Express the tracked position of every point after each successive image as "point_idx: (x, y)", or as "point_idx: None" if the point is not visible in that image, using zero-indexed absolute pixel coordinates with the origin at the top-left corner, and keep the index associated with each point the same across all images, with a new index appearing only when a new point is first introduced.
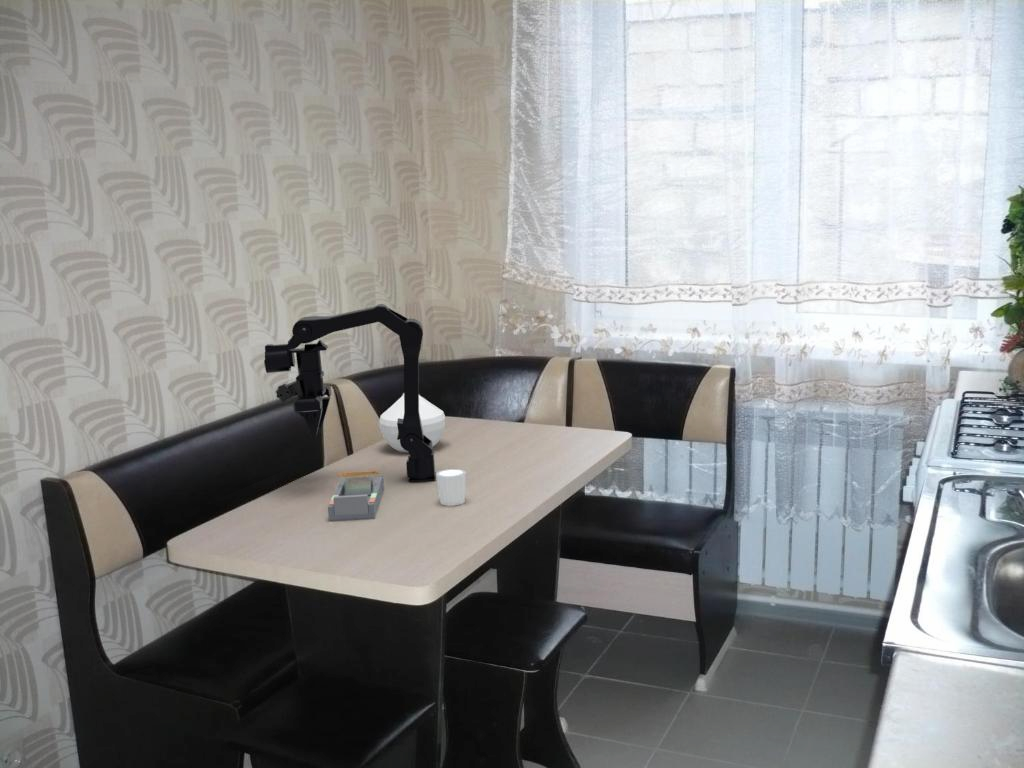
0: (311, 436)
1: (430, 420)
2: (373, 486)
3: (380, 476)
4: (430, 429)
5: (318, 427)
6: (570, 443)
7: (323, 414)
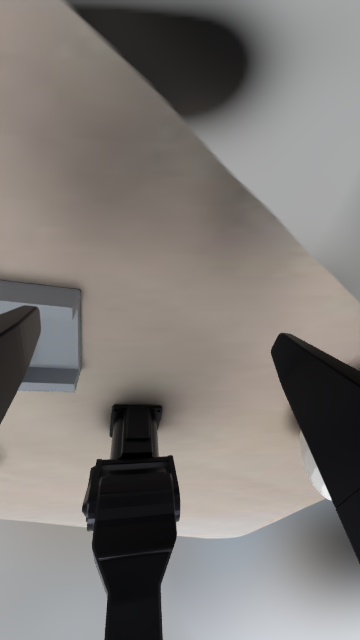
0: (26, 305)
1: (318, 489)
2: (58, 360)
3: (69, 388)
4: (305, 469)
5: (278, 337)
6: (228, 517)
7: (310, 433)
